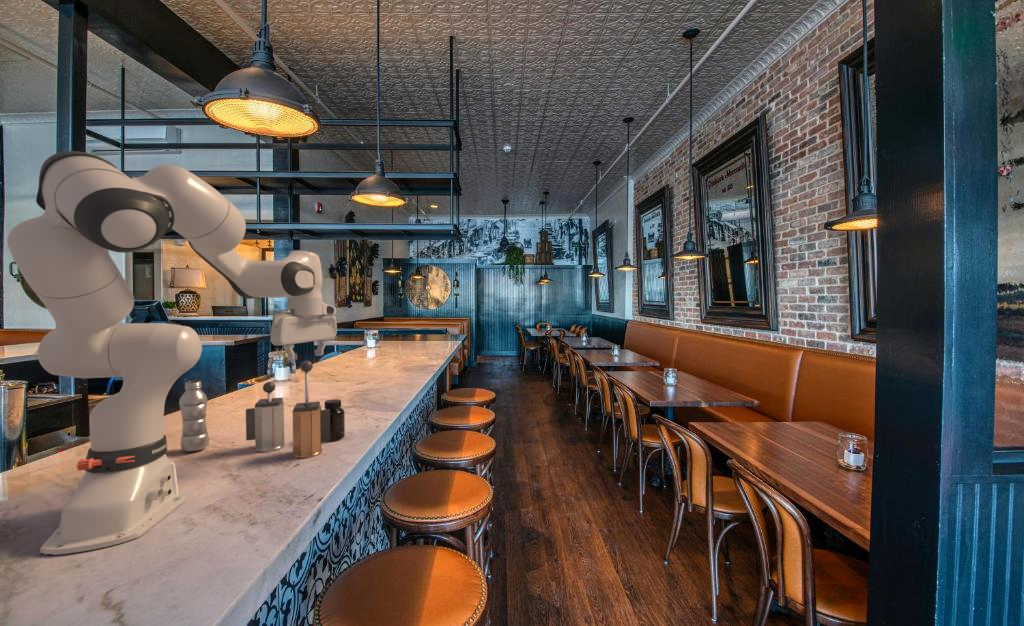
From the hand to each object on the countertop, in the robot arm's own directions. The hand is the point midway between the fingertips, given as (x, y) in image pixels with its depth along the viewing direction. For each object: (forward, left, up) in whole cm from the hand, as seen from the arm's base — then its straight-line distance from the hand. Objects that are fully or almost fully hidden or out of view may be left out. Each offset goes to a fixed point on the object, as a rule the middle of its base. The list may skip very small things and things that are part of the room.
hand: (306, 357), depth 114 cm
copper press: (0, -1, -27) cm, 27 cm away
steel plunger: (+9, +11, -22) cm, 27 cm away
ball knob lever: (0, 0, -15) cm, 15 cm away
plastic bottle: (+14, +31, -28) cm, 44 cm away
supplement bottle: (+11, -6, -28) cm, 30 cm away
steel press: (+9, +12, -27) cm, 31 cm away
